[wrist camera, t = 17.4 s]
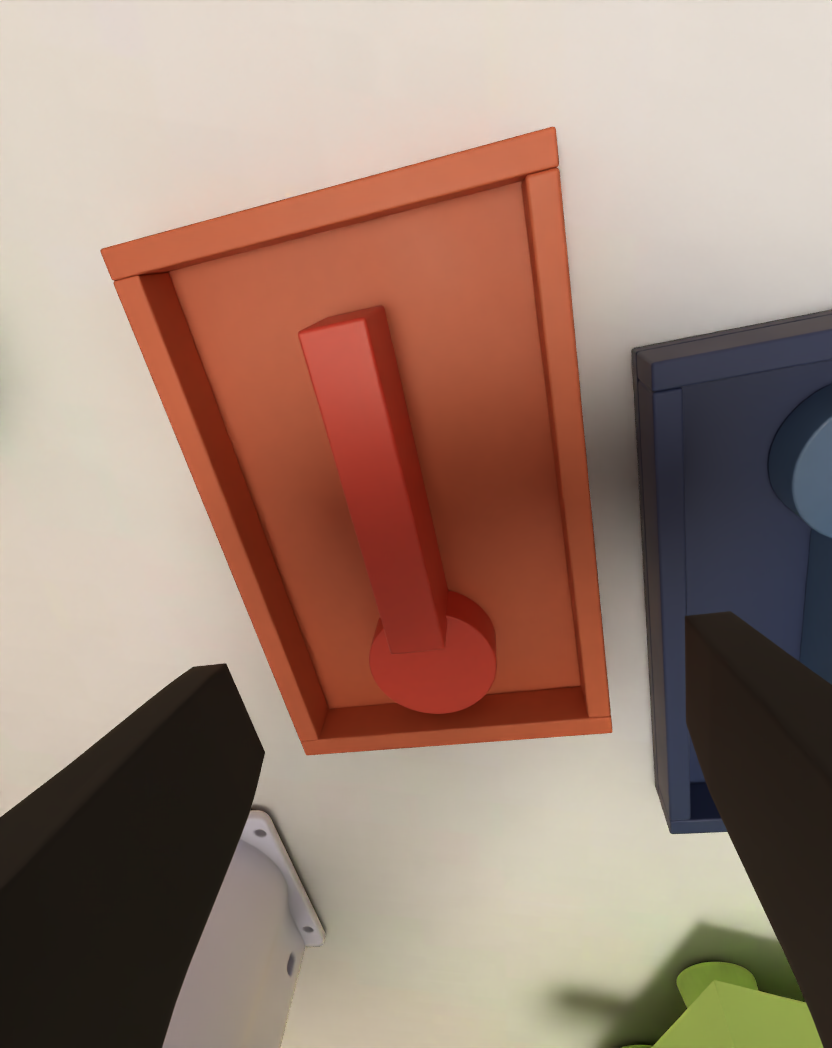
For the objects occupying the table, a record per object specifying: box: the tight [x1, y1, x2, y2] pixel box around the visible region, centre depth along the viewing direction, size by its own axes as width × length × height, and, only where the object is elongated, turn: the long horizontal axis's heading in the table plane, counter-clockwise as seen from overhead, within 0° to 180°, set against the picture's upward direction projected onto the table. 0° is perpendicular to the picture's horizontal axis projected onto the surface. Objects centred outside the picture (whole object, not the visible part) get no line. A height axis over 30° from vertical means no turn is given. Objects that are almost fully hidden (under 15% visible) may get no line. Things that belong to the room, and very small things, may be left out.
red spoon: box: [298, 305, 497, 714], centre depth 16 cm, size 12×4×3 cm, turn 12°
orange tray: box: [101, 127, 612, 755], centre depth 17 cm, size 16×10×2 cm, turn 12°
